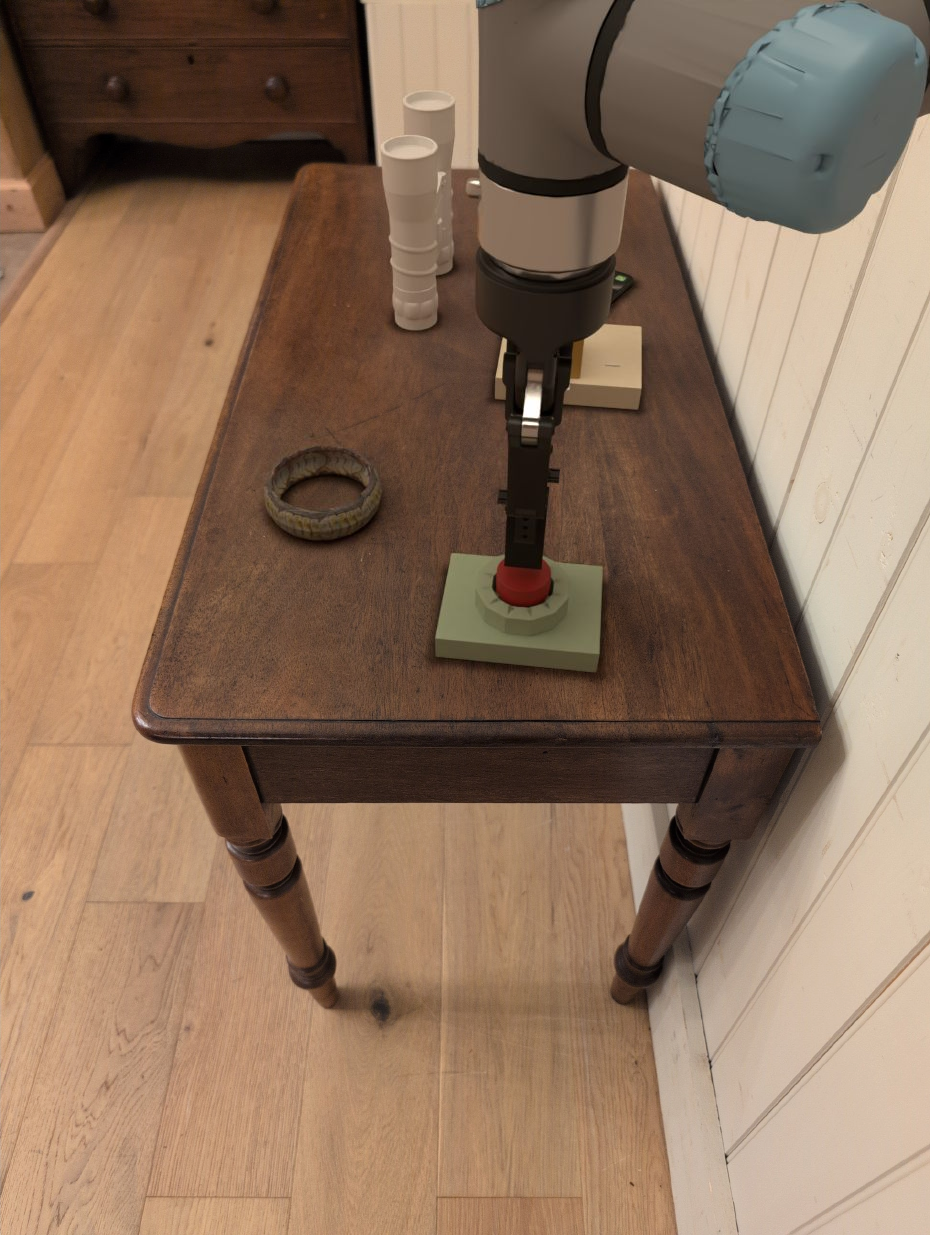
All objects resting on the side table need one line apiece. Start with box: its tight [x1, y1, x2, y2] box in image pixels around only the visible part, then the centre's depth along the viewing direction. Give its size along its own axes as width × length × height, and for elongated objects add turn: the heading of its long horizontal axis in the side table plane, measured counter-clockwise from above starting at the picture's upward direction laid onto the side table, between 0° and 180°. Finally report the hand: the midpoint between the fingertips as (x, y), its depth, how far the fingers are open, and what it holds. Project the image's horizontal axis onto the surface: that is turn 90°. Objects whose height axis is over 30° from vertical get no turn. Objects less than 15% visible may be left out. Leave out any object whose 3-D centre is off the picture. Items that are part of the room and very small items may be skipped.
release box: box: [434, 552, 604, 673], centre depth 70 cm, size 12×9×4 cm
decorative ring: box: [263, 444, 383, 541], centre depth 79 cm, size 10×3×10 cm
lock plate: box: [494, 323, 643, 411], centre depth 92 cm, size 14×12×3 cm
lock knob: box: [570, 339, 584, 378], centre depth 87 cm, size 6×2×9 cm, turn 173°
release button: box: [496, 559, 551, 607], centre depth 68 cm, size 4×4×2 cm
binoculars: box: [379, 89, 456, 331], centre depth 97 cm, size 17×5×18 cm, turn 172°
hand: (523, 560), depth 66 cm, fingers closed
